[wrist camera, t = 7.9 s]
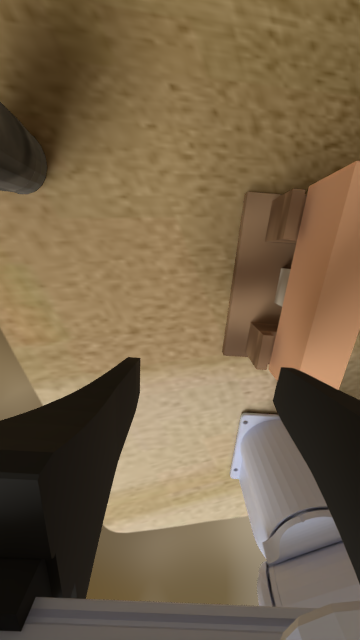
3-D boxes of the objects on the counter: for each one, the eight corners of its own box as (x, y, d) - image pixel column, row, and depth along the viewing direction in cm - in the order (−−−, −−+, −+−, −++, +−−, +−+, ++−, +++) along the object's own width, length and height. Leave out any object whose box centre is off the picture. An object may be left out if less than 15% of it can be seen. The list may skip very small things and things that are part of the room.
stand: (319, 358, 21) (350, 380, 17) (222, 351, 21) (231, 373, 17) (365, 204, 17) (418, 189, 13) (244, 194, 17) (263, 176, 13)
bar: (302, 371, 18) (334, 402, 15) (268, 369, 18) (291, 399, 14) (352, 189, 14) (415, 165, 10) (309, 186, 14) (356, 160, 10)
